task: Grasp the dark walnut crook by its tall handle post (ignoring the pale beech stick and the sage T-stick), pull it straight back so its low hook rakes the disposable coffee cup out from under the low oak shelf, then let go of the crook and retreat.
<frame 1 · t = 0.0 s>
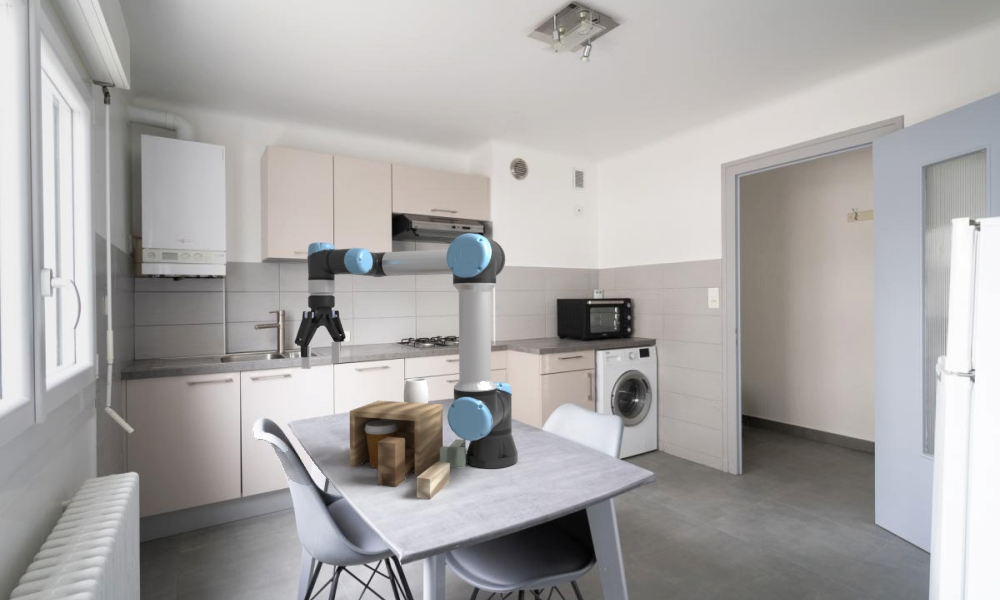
hand: (321, 365, 145), 28 cm above the table, fingers open, 13 cm apart
shelf: (397, 462, 141), on the table
crook: (407, 471, 134), on the table
tee stick: (456, 461, 142), on the table
disposable coffee cup: (381, 465, 139), on the table
wineglass: (416, 443, 161), on the table
beech stick: (434, 489, 121), on the table
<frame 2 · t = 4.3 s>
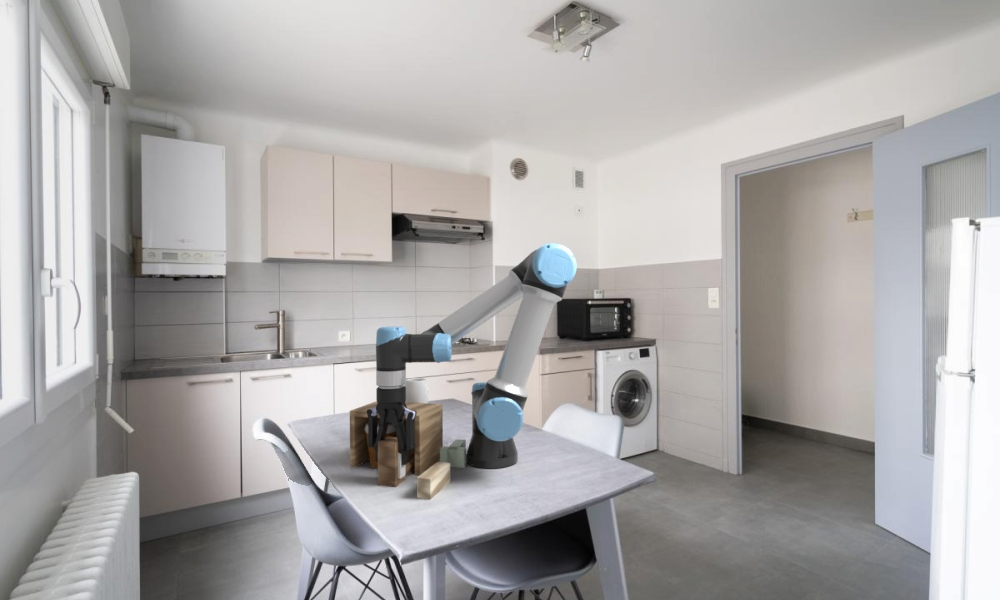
hand: (391, 475, 125), 2 cm above the table, fingers closed on crook, 5 cm apart
crook: (407, 471, 134), on the table, touching gripper
everything else where it was.
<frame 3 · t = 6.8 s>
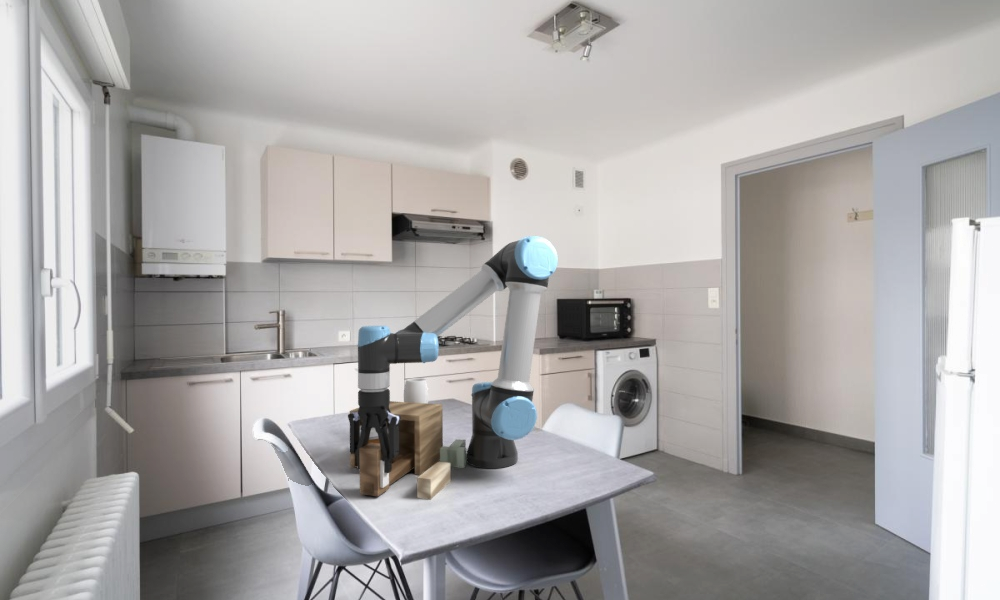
hand: (374, 484, 118), 2 cm above the table, fingers closed on crook, 5 cm apart
crook: (393, 478, 126), point 1 cm above the table, touching disposable coffee cup, gripper
disposable coffee cup: (372, 471, 134), on the table, touching crook
everything else where it was.
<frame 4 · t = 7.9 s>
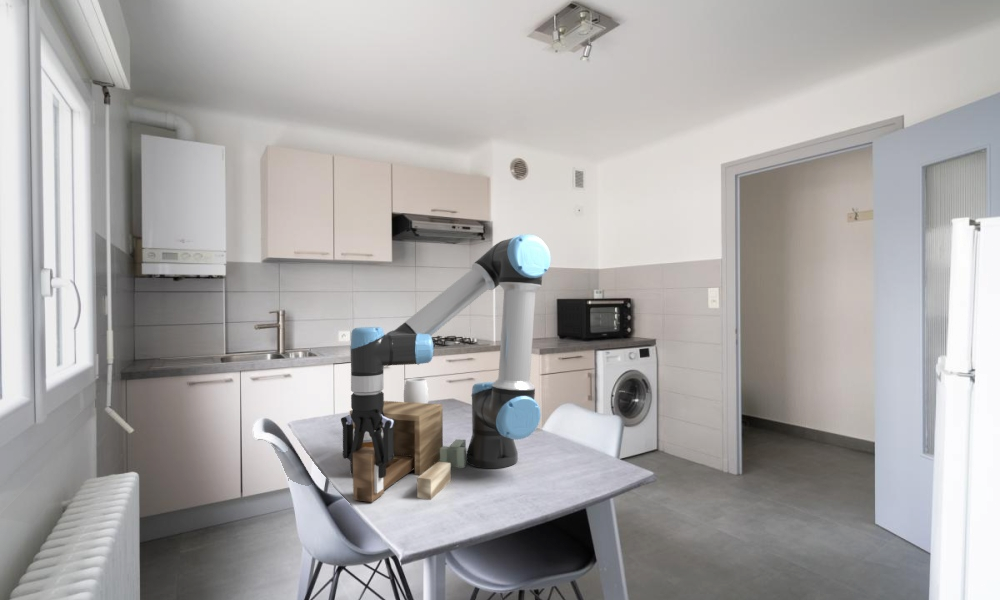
hand: (368, 489, 115), 2 cm above the table, fingers closed on crook, 5 cm apart
crook: (388, 482, 123), point 1 cm above the table, touching disposable coffee cup, gripper
disposable coffee cup: (366, 475, 131), on the table, touching crook
everything else where it was.
when the fingers open (2 cm above the table, at t = 8.9 s): crook stays where it is, on the table.
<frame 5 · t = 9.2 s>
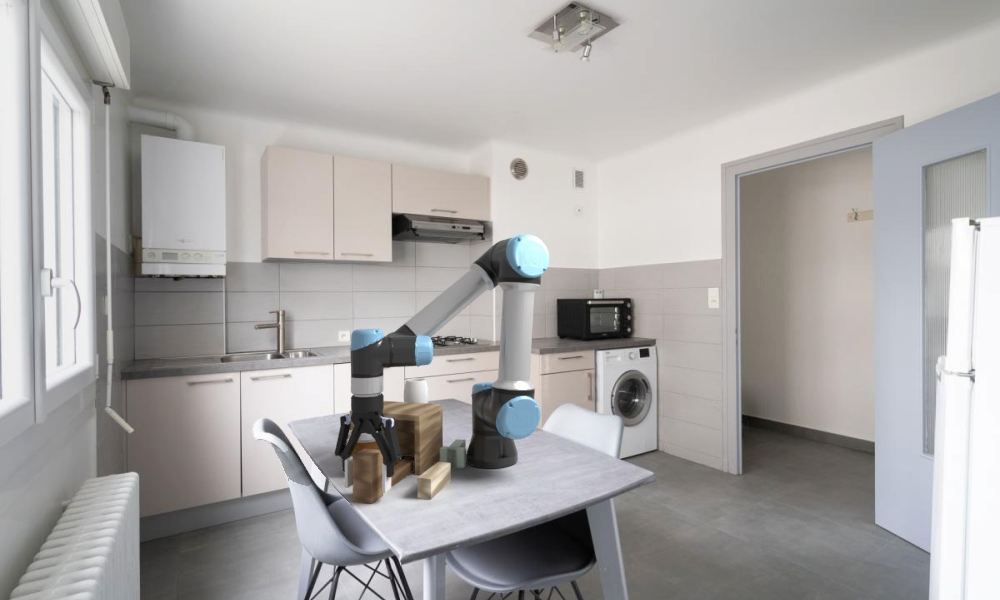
hand: (368, 487, 115), 3 cm above the table, fingers open, 9 cm apart
crook: (387, 485, 123), on the table
disposable coffee cup: (366, 475, 131), on the table
everything else where it was.
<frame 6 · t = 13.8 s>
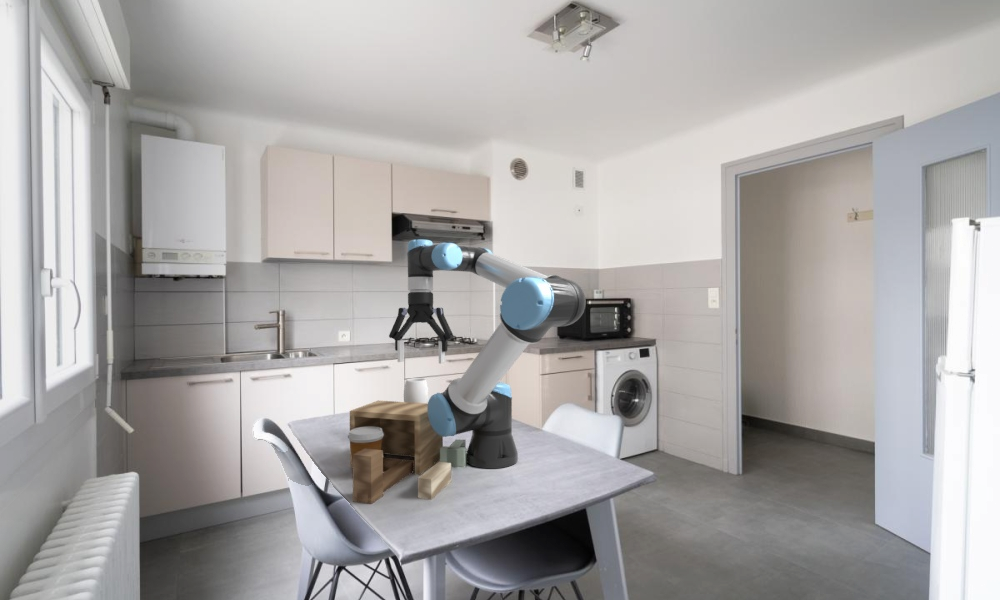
hand: (421, 362, 145), 29 cm above the table, fingers open, 13 cm apart
nothing on the table moved.
at the end: disposable coffee cup inside the target area (5.0 cm from its centre), on the table; crook moved 10.8 cm from its start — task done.
